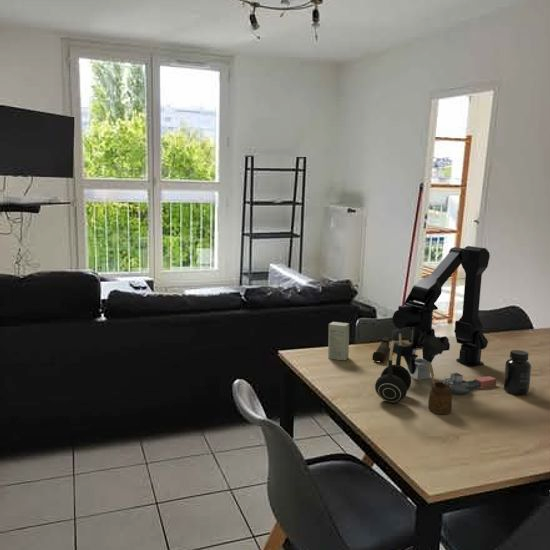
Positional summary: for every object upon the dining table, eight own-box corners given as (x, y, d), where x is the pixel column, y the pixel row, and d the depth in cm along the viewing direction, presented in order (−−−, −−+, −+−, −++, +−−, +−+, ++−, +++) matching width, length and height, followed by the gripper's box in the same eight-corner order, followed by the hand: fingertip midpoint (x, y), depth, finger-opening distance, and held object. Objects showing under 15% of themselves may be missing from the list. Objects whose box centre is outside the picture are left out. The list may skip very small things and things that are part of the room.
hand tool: (383, 364, 175) (384, 350, 174) (371, 362, 176) (372, 349, 175) (394, 348, 192) (395, 336, 191) (383, 346, 193) (384, 334, 193)
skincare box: (348, 357, 180) (350, 323, 178) (345, 361, 176) (346, 326, 174) (331, 354, 182) (332, 320, 180) (327, 358, 178) (328, 323, 176)
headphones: (371, 405, 141) (375, 334, 138) (382, 386, 155) (386, 321, 151) (403, 411, 138) (408, 338, 135) (412, 391, 151) (417, 325, 148)
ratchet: (483, 379, 162) (484, 364, 161) (501, 388, 156) (503, 372, 155) (437, 387, 155) (438, 371, 154) (454, 396, 148) (456, 380, 147)
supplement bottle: (527, 388, 155) (531, 350, 153) (529, 397, 149) (534, 357, 147) (502, 385, 158) (506, 347, 156) (503, 393, 151) (508, 354, 149)
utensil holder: (448, 417, 135) (451, 373, 133) (423, 411, 138) (427, 368, 136) (453, 409, 140) (457, 366, 138) (430, 403, 143) (433, 361, 141)
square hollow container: (419, 372, 167) (420, 357, 166) (430, 378, 162) (431, 362, 161) (406, 374, 165) (408, 359, 164) (417, 380, 160) (418, 364, 159)
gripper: (414, 334, 150) (410, 386, 152) (464, 328, 157) (460, 377, 160) (391, 324, 160) (388, 373, 162) (439, 319, 167) (435, 365, 170)
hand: (418, 372), depth 163 cm, fingers closed on square hollow container, 5 cm apart
